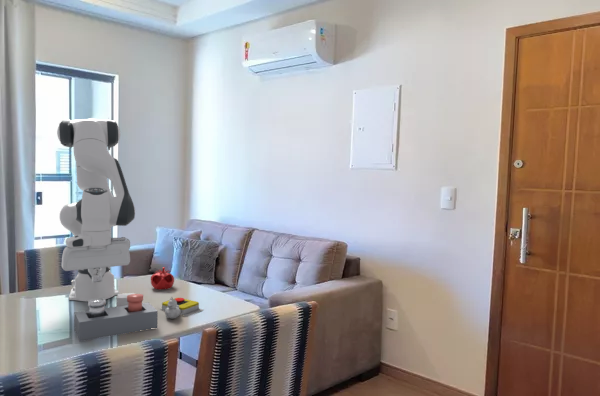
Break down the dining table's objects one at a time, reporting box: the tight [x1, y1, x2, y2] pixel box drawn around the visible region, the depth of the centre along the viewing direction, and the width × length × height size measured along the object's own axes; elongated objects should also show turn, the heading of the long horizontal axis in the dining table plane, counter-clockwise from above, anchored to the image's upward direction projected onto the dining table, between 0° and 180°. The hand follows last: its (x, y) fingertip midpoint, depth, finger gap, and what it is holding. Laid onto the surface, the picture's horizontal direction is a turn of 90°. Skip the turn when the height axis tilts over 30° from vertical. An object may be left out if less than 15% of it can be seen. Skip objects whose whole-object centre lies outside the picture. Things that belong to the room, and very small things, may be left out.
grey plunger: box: [87, 298, 107, 318], centre depth 153 cm, size 5×5×5 cm
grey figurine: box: [164, 297, 181, 319], centre depth 170 cm, size 5×7×8 cm
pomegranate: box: [150, 267, 175, 291], centre depth 208 cm, size 10×10×9 cm
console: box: [73, 302, 159, 342], centre depth 157 cm, size 11×24×6 cm, turn 123°
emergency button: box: [161, 297, 204, 317], centre depth 179 cm, size 9×4×15 cm
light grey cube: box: [116, 292, 136, 307], centre depth 176 cm, size 6×6×6 cm
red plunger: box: [127, 293, 144, 312], centre depth 159 cm, size 5×5×5 cm
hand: (97, 281), depth 152 cm, fingers closed
